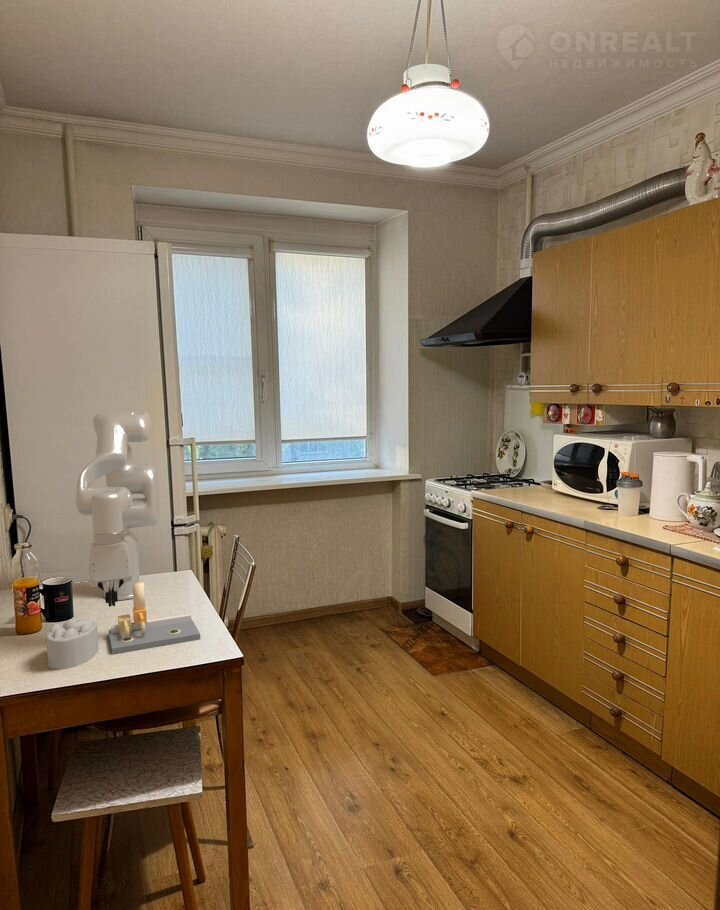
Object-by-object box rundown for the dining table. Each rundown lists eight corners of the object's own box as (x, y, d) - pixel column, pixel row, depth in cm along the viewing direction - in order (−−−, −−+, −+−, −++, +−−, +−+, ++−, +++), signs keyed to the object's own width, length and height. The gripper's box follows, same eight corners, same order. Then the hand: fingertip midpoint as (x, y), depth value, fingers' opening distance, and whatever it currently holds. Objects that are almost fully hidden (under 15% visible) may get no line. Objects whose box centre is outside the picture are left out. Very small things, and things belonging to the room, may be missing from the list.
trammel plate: (108, 635, 172) (107, 617, 171) (190, 621, 181) (190, 604, 180) (112, 654, 159) (111, 634, 159) (200, 639, 168) (199, 620, 168)
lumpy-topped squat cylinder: (103, 647, 164) (101, 615, 163) (80, 669, 151) (78, 635, 150) (64, 647, 164) (62, 615, 163) (37, 669, 151) (35, 635, 150)
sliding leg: (133, 624, 174) (131, 582, 173) (145, 622, 175) (143, 580, 174) (137, 636, 165) (135, 592, 164) (149, 634, 167) (147, 590, 165)
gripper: (136, 532, 174) (139, 596, 175) (77, 538, 167) (81, 605, 169) (139, 538, 167) (142, 605, 169) (78, 544, 161) (81, 613, 162)
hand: (111, 604), depth 169 cm, fingers closed
